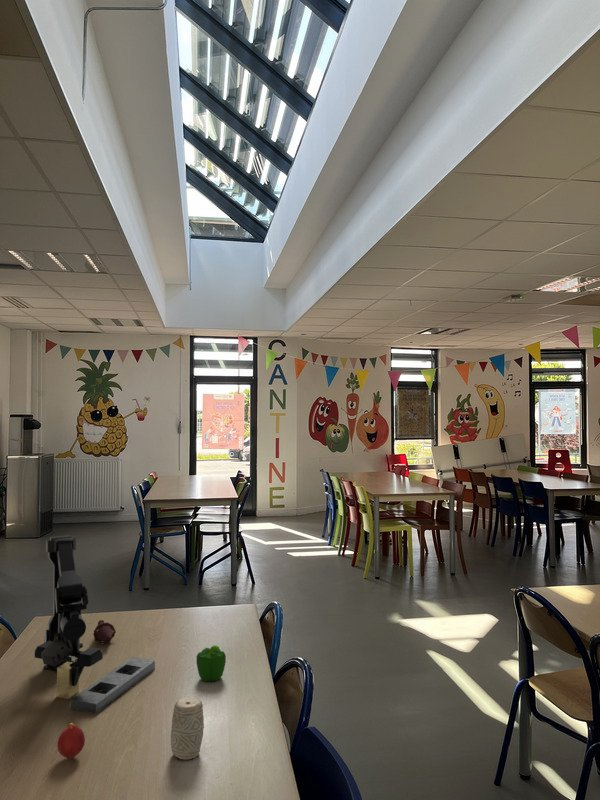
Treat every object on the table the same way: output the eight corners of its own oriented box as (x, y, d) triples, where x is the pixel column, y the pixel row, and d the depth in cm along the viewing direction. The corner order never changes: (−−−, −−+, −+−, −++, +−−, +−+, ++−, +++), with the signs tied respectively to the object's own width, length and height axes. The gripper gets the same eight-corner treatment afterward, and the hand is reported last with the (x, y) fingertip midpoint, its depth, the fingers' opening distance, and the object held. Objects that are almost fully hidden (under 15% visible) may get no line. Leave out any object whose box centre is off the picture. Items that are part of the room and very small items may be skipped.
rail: (70, 708, 151) (70, 699, 151) (132, 665, 177) (132, 657, 177) (96, 713, 148) (96, 704, 148) (154, 668, 175) (154, 660, 175)
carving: (204, 760, 129) (204, 706, 129) (169, 764, 127) (171, 710, 128) (202, 744, 135) (203, 693, 135) (170, 748, 134) (171, 696, 134)
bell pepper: (191, 676, 170) (192, 643, 170) (215, 669, 175) (216, 636, 175) (204, 687, 163) (205, 652, 164) (229, 680, 168) (230, 645, 169)
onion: (62, 751, 132) (62, 716, 132) (87, 750, 132) (88, 715, 132) (53, 766, 126) (54, 730, 126) (80, 765, 126) (80, 729, 127)
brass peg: (56, 696, 157) (57, 667, 157) (66, 690, 161) (67, 661, 161) (68, 699, 156) (69, 669, 156) (78, 692, 160) (79, 663, 160)
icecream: (123, 628, 191) (111, 618, 204) (101, 626, 188) (90, 616, 200) (118, 649, 190) (106, 638, 202) (95, 648, 186) (85, 637, 198)
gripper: (20, 633, 154) (18, 692, 153) (77, 643, 148) (76, 703, 148) (49, 619, 165) (48, 674, 164) (104, 628, 159) (103, 684, 158)
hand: (67, 684), depth 158 cm, fingers closed on brass peg, 4 cm apart
